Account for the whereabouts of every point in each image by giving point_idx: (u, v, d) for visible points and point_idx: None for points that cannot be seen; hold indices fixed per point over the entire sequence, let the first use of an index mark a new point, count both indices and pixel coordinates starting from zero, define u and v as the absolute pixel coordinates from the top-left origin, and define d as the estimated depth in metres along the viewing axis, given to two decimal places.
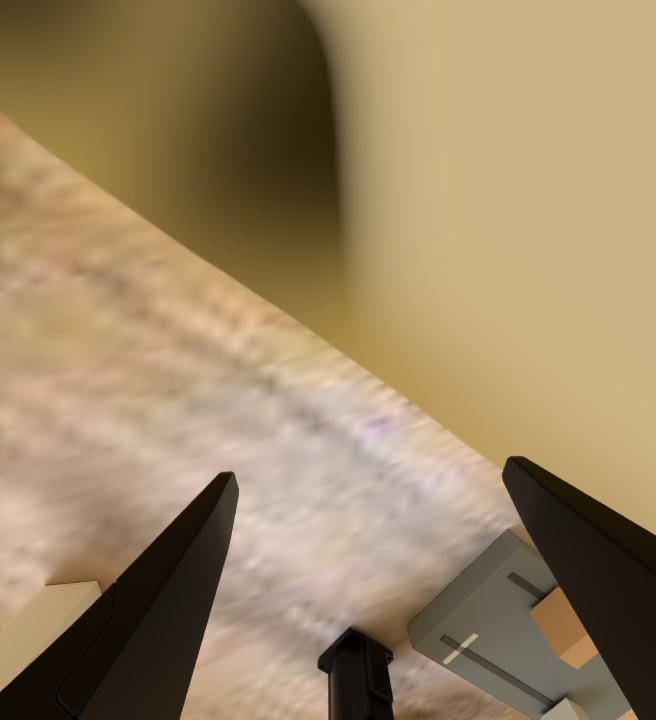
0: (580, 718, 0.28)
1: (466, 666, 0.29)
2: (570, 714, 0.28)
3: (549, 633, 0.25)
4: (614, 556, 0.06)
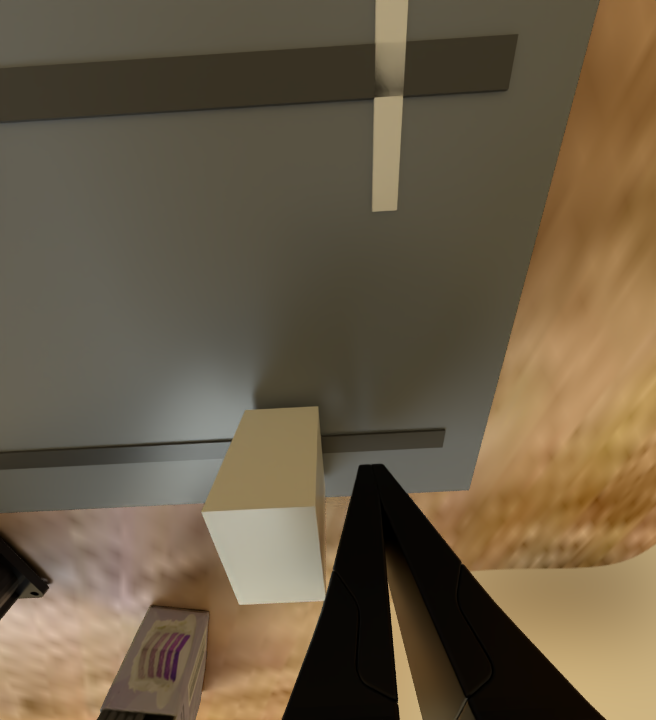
0: (244, 439, 0.07)
1: None
2: None
3: None
4: (405, 567, 0.06)
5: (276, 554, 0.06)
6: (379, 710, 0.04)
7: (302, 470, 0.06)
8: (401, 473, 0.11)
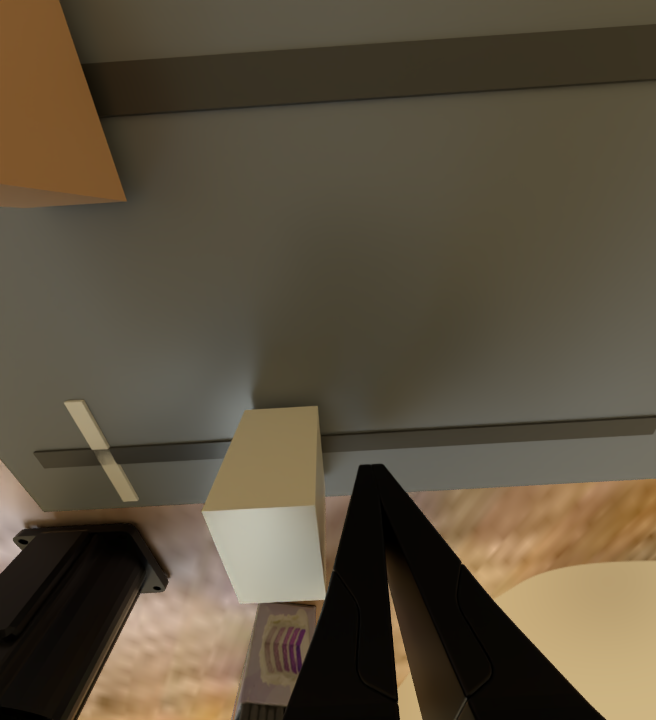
0: (244, 439, 0.08)
1: (181, 479, 0.11)
2: None
3: None
4: (405, 567, 0.06)
5: (277, 552, 0.06)
6: (379, 709, 0.04)
7: (302, 468, 0.06)
8: (597, 461, 0.11)
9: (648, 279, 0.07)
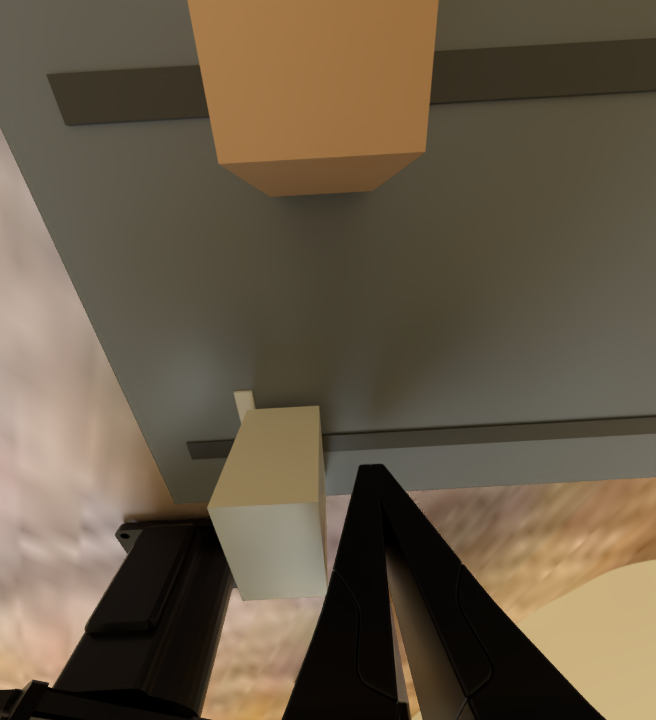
0: (247, 438, 0.08)
1: None
2: None
3: None
4: (405, 567, 0.06)
5: (279, 549, 0.06)
6: (380, 710, 0.04)
7: (305, 467, 0.07)
8: None
9: None
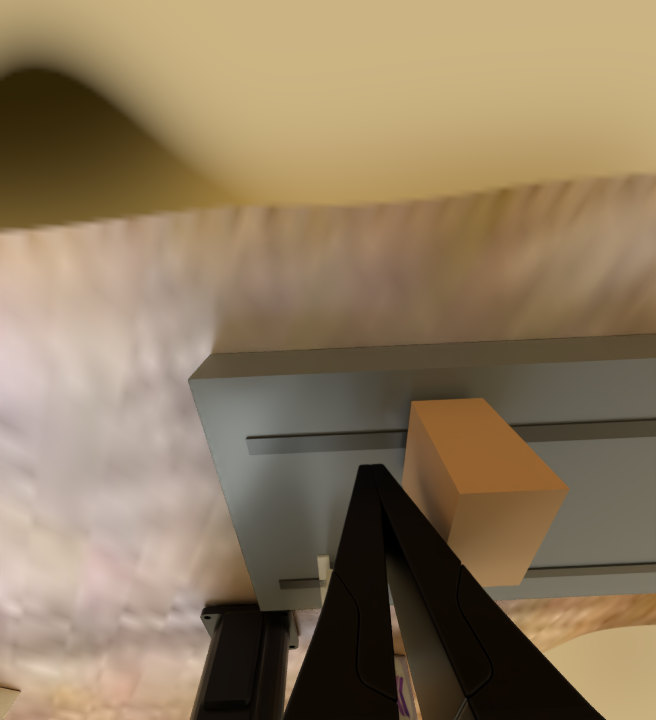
0: None
1: None
2: None
3: None
4: (405, 567, 0.06)
5: None
6: (379, 709, 0.04)
7: None
8: None
9: None
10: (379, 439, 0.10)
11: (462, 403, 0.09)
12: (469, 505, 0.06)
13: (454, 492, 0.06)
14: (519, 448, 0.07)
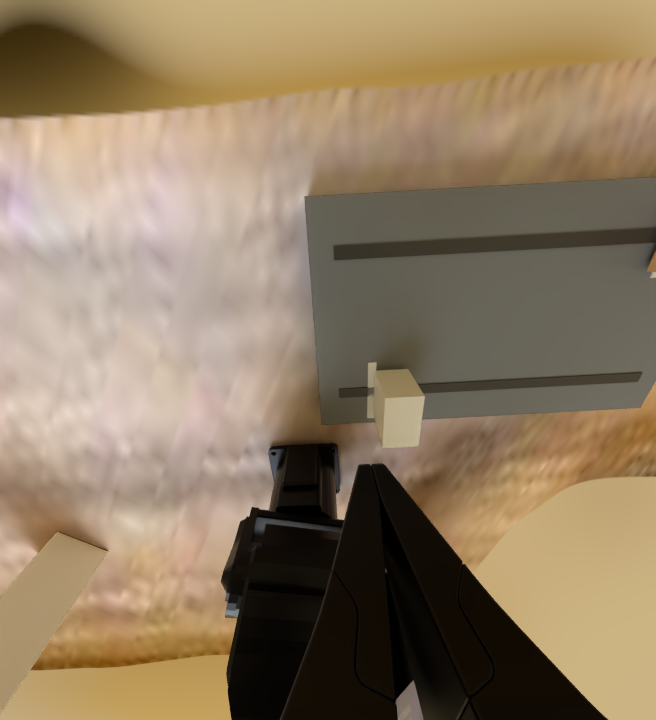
0: (383, 380, 0.18)
1: None
2: (377, 384, 0.19)
3: None
4: (406, 567, 0.06)
5: (405, 419, 0.17)
6: (378, 709, 0.04)
7: (414, 387, 0.17)
8: (610, 397, 0.21)
9: (634, 309, 0.18)
10: (417, 247, 0.16)
11: None
12: None
13: None
14: None
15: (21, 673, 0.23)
